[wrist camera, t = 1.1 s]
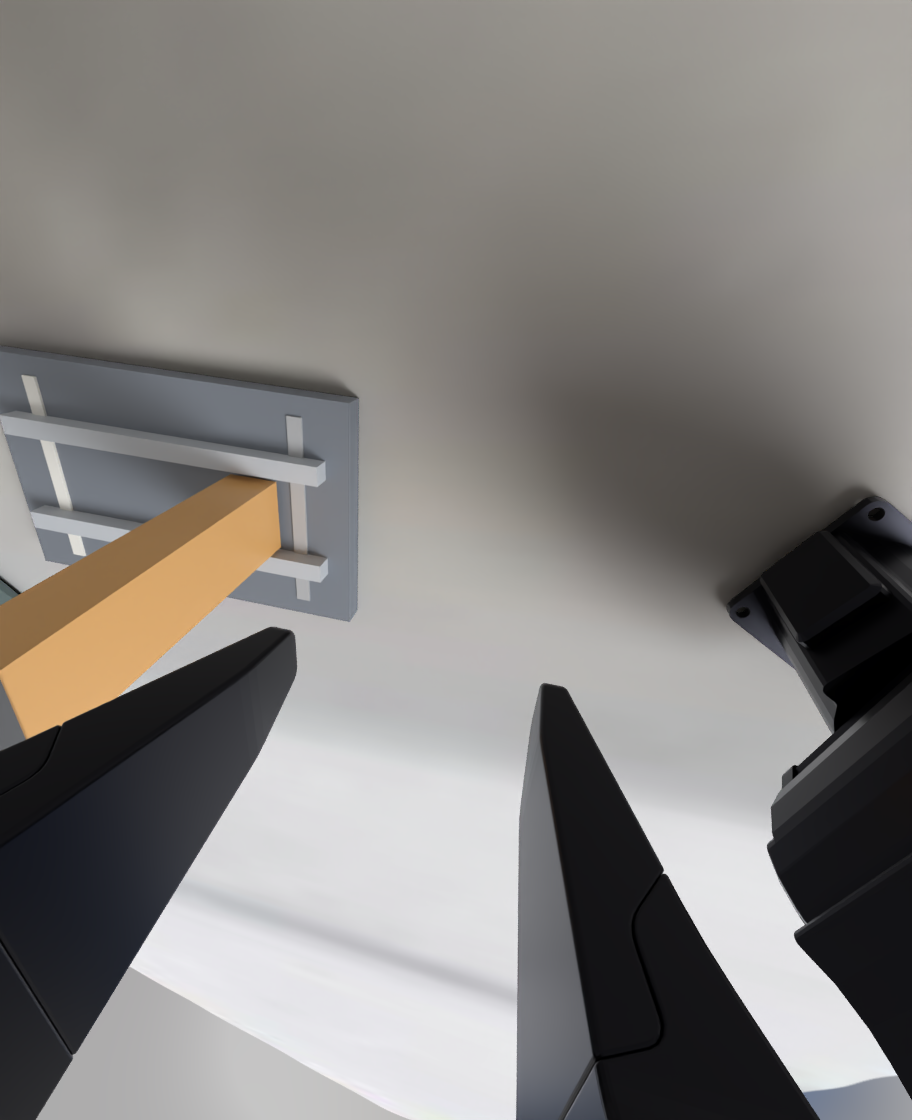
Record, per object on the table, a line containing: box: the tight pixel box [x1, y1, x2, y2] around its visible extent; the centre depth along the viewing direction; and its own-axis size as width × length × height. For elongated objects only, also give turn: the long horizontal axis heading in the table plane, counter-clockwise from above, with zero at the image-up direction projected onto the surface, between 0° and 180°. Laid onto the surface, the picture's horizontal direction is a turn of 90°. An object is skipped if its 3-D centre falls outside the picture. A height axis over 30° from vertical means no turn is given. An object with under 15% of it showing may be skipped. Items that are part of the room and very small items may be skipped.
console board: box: [0, 346, 359, 622], centre depth 23 cm, size 16×10×2 cm, turn 85°
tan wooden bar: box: [0, 474, 281, 751], centre depth 17 cm, size 2×3×13 cm
